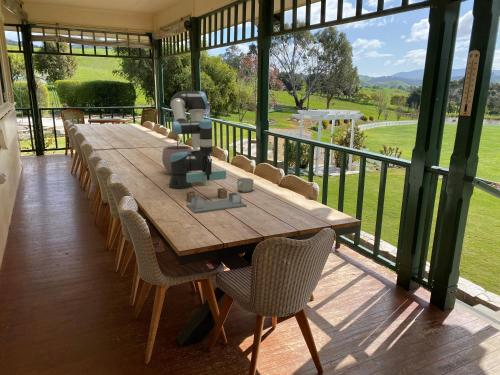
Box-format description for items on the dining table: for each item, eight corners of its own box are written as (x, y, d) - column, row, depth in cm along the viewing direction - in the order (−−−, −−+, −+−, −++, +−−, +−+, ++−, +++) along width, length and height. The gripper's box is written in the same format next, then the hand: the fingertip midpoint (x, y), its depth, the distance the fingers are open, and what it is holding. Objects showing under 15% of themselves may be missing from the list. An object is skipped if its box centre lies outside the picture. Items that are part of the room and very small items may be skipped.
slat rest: (186, 200, 234) (186, 192, 233) (223, 195, 244) (223, 187, 243) (189, 202, 229) (189, 194, 228) (227, 198, 239) (227, 190, 238)
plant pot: (199, 174, 302) (198, 136, 295) (170, 178, 289) (168, 138, 282) (185, 169, 321) (184, 132, 314) (158, 172, 308) (156, 134, 301)
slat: (186, 181, 230) (186, 173, 229) (224, 177, 240) (224, 169, 239) (188, 182, 228) (187, 174, 226) (226, 178, 238) (225, 170, 236)
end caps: (191, 205, 220) (190, 197, 218) (236, 200, 231) (236, 192, 230) (195, 209, 213) (194, 200, 212) (241, 203, 225) (241, 194, 224)
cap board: (186, 206, 223) (186, 204, 222) (236, 199, 236) (236, 198, 236) (194, 213, 210) (194, 211, 209) (246, 206, 223) (246, 204, 223)
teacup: (244, 188, 263) (244, 176, 261) (256, 190, 256) (257, 179, 254) (230, 192, 253) (230, 180, 251) (243, 195, 246) (243, 182, 244)
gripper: (195, 144, 234) (196, 181, 240) (204, 148, 220) (205, 188, 226) (207, 143, 237) (208, 180, 243) (216, 147, 223) (217, 187, 229)
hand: (206, 184), depth 235 cm, fingers closed on slat, 3 cm apart
